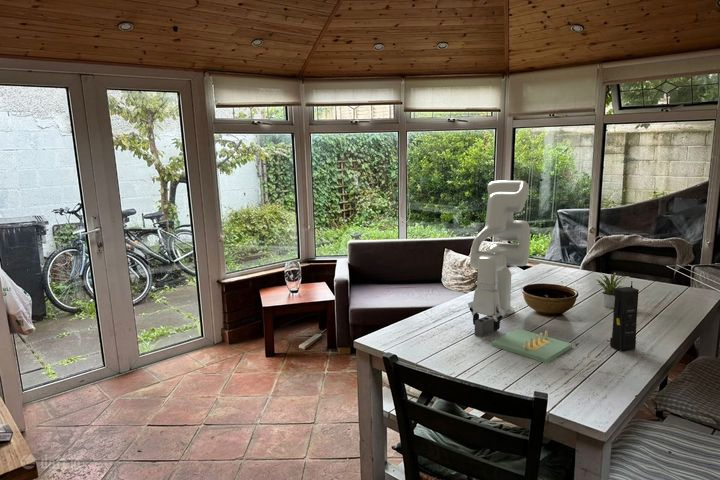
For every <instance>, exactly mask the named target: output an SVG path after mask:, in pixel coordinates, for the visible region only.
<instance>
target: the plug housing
mask: <svg viewBox="0 0 720 480" xmlns="http://www.w3.org/2000/svg"><path fill="white" fill-rule="evenodd" d="M496 317H497V316H496ZM494 321H495V320H494V318H493V316H487V315H484V317H481V318H480V317H479V319H478V320H476V321H475V325H474V335H475V336H477V337H480V338H483V337H485V336H489V335H490V334H492V333H494V332H497V331H498V330H496V331H494V330H493V327H494Z"/></svg>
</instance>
